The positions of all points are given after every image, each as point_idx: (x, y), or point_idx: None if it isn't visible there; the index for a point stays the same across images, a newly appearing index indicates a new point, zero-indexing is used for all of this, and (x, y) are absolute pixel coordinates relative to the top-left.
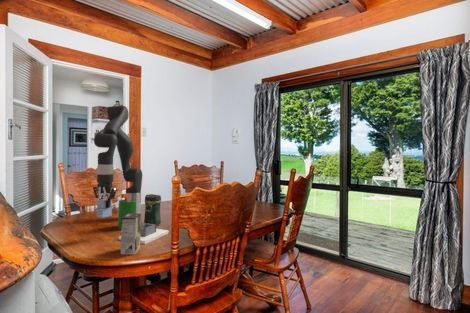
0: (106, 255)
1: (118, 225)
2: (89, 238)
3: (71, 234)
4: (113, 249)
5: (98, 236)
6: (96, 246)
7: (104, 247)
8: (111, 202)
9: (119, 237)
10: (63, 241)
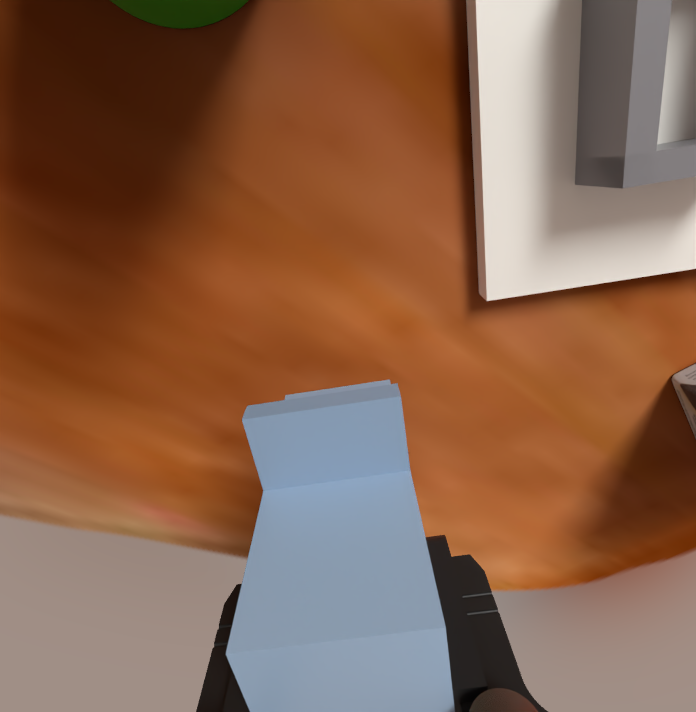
0: (636, 517)
1: (125, 6)
2: (253, 401)
3: (41, 419)
4: (604, 444)
5: (258, 334)
6: (457, 468)
7: (520, 453)
8: (427, 549)
9: (492, 298)
10: (184, 521)
